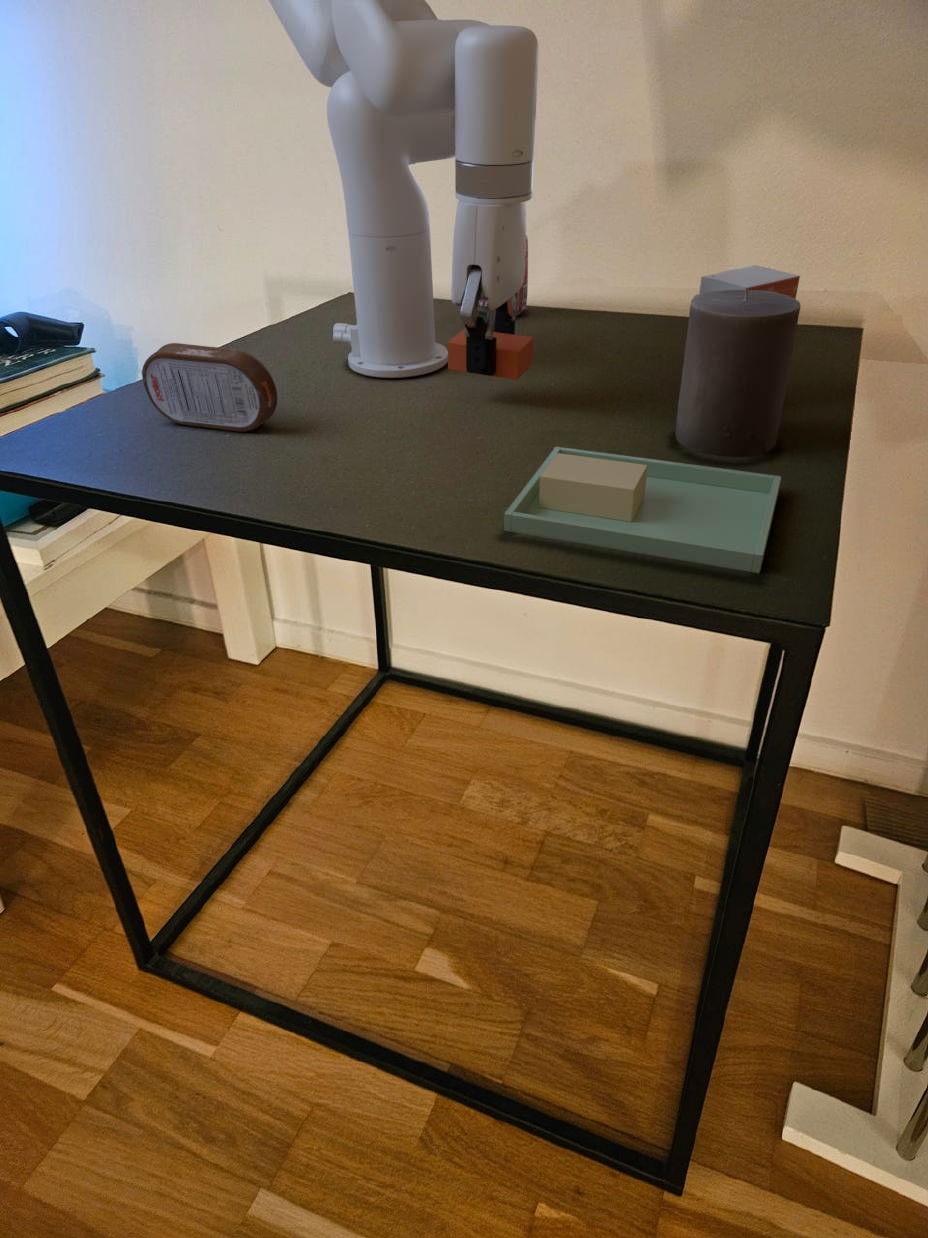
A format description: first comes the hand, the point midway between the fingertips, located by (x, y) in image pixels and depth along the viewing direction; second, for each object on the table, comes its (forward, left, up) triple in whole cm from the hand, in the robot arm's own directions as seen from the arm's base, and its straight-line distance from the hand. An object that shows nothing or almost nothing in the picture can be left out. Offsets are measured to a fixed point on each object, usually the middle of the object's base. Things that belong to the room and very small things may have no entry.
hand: (490, 362), depth 94 cm
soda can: (-11, +34, -5) cm, 36 cm away
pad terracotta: (0, 0, 0) cm, 1 cm away
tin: (-26, -16, -5) cm, 31 cm away
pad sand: (+17, -22, -4) cm, 28 cm away
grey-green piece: (+22, -22, -5) cm, 31 cm away
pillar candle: (+26, -4, -5) cm, 27 cm away
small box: (+25, +9, -5) cm, 27 cm away
